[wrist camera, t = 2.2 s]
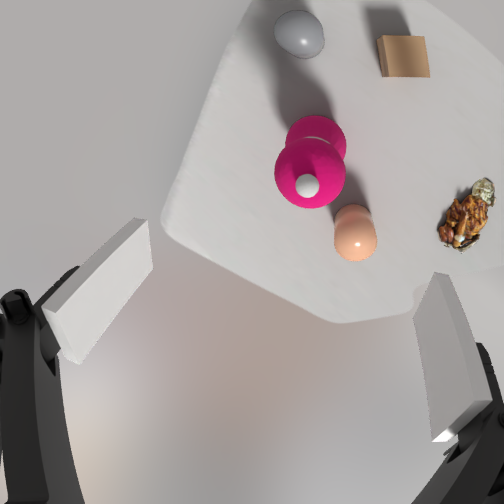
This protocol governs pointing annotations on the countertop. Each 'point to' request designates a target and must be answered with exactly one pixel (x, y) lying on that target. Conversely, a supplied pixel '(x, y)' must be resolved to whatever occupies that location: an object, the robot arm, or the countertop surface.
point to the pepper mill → (312, 162)
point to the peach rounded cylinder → (354, 233)
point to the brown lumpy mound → (468, 217)
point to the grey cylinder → (299, 34)
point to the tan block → (403, 56)
